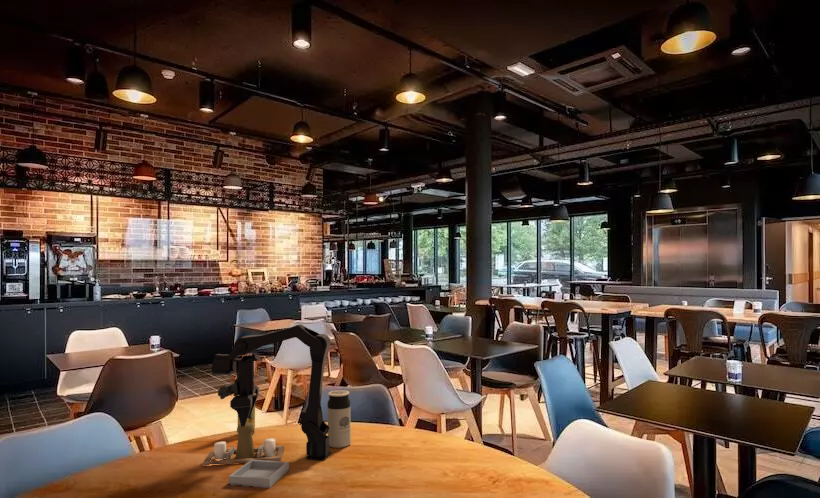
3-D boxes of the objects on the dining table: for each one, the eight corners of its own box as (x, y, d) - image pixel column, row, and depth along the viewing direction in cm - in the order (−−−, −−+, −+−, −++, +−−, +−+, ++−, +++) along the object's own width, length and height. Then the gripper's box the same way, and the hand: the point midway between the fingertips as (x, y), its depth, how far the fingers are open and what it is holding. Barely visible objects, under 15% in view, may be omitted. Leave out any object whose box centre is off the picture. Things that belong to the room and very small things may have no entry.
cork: (248, 461, 158) (248, 426, 159) (231, 459, 159) (231, 425, 160) (258, 454, 164) (258, 420, 164) (241, 453, 165) (241, 420, 166)
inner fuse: (275, 453, 165) (275, 437, 165) (274, 456, 161) (274, 441, 161) (264, 453, 164) (264, 438, 164) (263, 457, 161) (263, 442, 161)
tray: (289, 470, 150) (289, 461, 150) (269, 487, 137) (269, 478, 138) (251, 467, 152) (251, 459, 152) (228, 485, 140) (228, 476, 140)
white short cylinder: (227, 456, 162) (227, 441, 163) (224, 460, 159) (224, 444, 159) (215, 457, 162) (215, 441, 162) (213, 461, 158) (213, 445, 158)
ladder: (284, 448, 169) (284, 440, 169) (280, 460, 158) (280, 452, 158) (211, 453, 165) (211, 445, 166) (202, 466, 154) (202, 458, 154)
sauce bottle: (251, 436, 182) (251, 382, 183) (234, 436, 182) (235, 382, 183) (257, 431, 189) (257, 378, 190) (241, 431, 189) (241, 379, 190)
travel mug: (325, 442, 174) (324, 391, 175) (346, 439, 177) (346, 388, 178) (331, 449, 167) (330, 396, 168) (353, 446, 170) (353, 393, 171)
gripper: (226, 370, 171) (226, 415, 170) (213, 381, 152) (213, 432, 152) (259, 368, 173) (259, 413, 172) (250, 379, 154) (250, 430, 153)
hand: (245, 422), depth 162 cm, fingers open, 9 cm apart
